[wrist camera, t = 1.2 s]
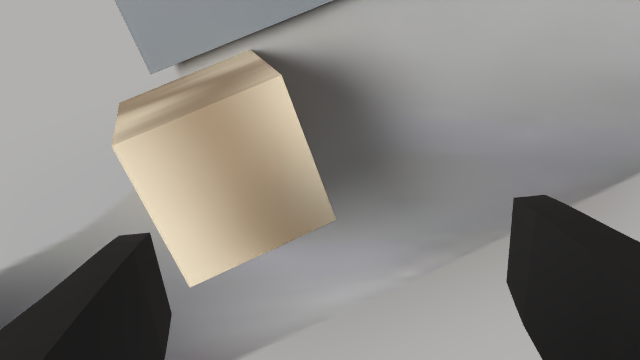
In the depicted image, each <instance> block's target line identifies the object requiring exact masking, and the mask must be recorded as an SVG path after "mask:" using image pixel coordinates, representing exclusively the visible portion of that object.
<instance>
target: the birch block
mask: <svg viewBox="0 0 640 360" xmlns="http://www.w3.org/2000/svg"><path fill="white" fill-rule="evenodd" d="M112 148H113V150H114V151H115V153H116V155H117V157H118V159H119V160H120V162H121V164H122V166H123V168H124V170H125V171H126V173H127V175H128V177H129V178H130V180H131V182H132V184H133V186H134V188H135V189H136V191H137V193H138V195H139V197H140V199H141V200H142V202H143V204H144V206H145V208H146V209H147V211H148V213H149V215H150V217H151V218H152V220H153V222H154V224H155V226H156V227H157V229H158V231H159V233H160V235H161V236H162V238H163V240H164V242H165V244H166V246H167V247H168V249H169V251H170V253H171V255H172V256H173V258H174V260H175V262H176V264H177V265H178V267H179V269H180V271H181V273H182V274H183V276H184V278H185V280H186V282H187V284H188V285H189V287H192V286H195V285H197V284H199V283H201V282H203V281H205V280H208V279H210V278H212V277H214V276H216V275H218V274H221V273H223V272H225V271H227V270H229V269H231V268H233V267H236V266H238V265H240V264H242V263H244V262H246V261H249V260H251V259H253V258H255V257H257V256H259V255H262V254H264V253H266V252H268V251H270V250H272V249H275V248H277V247H279V246H281V245H283V244H285V243H288V242H290V241H292V240H294V239H296V238H298V237H301V236H303V235H305V234H307V233H309V232H311V231H314V230H316V229H318V228H320V227H322V226H324V225H327V224H329V223H331V222H333V221H335V220H336V218H335V215H334V213H333V210H332V207H331V205H330V202H329V200H328V197H327V194H326V192H325V189H324V186H323V184H322V181H321V178H320V176H319V173H318V170H317V168H316V165H315V162H314V160H313V157H312V154H311V152H310V149H309V146H308V144H307V141H306V139H305V136H304V133H303V131H302V128H301V125H300V123H299V120H298V117H297V115H296V112H295V109H294V107H293V104H292V101H291V99H290V96H289V93H288V91H287V88H286V86H285V83H284V80H283V78H282V75H281V74H280V73H279V72H277V71H276V70H275V69H274V68H272V67H271V66H270V65H269V64H267V63H266V62H265V61H264V60H262V59H261V58H260V57H259V56H258V55H256V54H255V53H254V52H253V51H251V50H248V51H246V52H243V53H241V54H238V55H236V56H234V57H231V58H229V59H226V60H224V61H221V62H219V63H216V64H214V65H212V66H209V67H207V68H204V69H202V70H199V71H197V72H195V73H192V74H190V75H187V76H185V77H182V78H179V79H176V80H174V81H171V82H169V83H167V84H164V85H162V86H160V87H157V88H154V89H152V90H150V91H147V92H145V93H142V94H140V95H137V96H135V97H132V98H130V99H128V100H125V101H123V102H120V103H119V108H118V114H117V119H116V125H115V130H114V136H113V142H112Z"/></svg>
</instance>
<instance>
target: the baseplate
mask: <svg viewBox="0 0 640 360" xmlns="http://www.w3.org/2000/svg"><path fill="white" fill-rule="evenodd" d="M330 1H333V0H115V2H116V4H117V6H118V8H119V10H120V12H121V14H122V16H123V18H124V20H125V23H126V25H127V27H128V29H129V31H130V33H131V35H132V37H133V39H134V41H135V43H136V45H137V47H138V49H139V51H140V53H141V55H142V57H143V60H144V62H145V64H146V66H147V68H148V70H149V72H150V74H153V73H155V72H158V71H160V70H163V69H165V68H168V67H170V66H173V65H175V64H177V63H180V62H182V61H185V60H187V59H190V58H192V57H195V56H197V55H200V54H202V53H205V52H207V51H210V50H212V49H214V48H217V47H219V46H222V45H224V44H227V43H229V42H232V41H234V40H237V39H239V38H242V37H244V36H247V35H249V34H251V33H254V32H256V31H259V30H261V29H264V28H266V27H269V26H271V25H274V24H276V23H279V22H281V21H284V20H286V19H288V18H291V17H293V16H296V15H298V14H301V13H303V12H306V11H308V10H311V9H313V8H316V7H318V6H321V5H323V4H325V3H328V2H330Z"/></svg>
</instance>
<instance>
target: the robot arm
mask: <svg viewBox="0 0 640 360" xmlns="http://www.w3.org/2000/svg"><path fill="white" fill-rule="evenodd" d="M507 284H508V287H509V289H510V292H511V295H512V297H513V300H514V303H515V306H516V308H517V310H518V313H519V315H520V318H521V320H522V322H523V325H524V327H525V329H526V331H527V332H528V334H529V336H530V338H531V340H532V342H533V343H534V345H535V347H536V349H537V351H538V352H539V354H540V356H541V358H542V359H543V360H640V242H638V241H636V240H634V239H632V238H630V237H628V236H626V235H624V234H622V233H620V232H618V231H616V230H614V229H612V228H610V227H609V226H607V225H605V224H603V223H601V222H599V221H597V220H595V219H593V218H591V217H589V216H588V215H586V214H584V213H582V212H580V211H578V210H576V209H574V208H572V207H570V206H568V205H566V204H564V203H562V202H560V201H558V200H556V199H553V198H551V197H549V196H546V195H539V196H529V197H518V198H514V201H513V213H512V224H511V236H510V248H509V259H508V271H507ZM170 321H171V310H170V306H169V302H168V299H167V295H166V291H165V287H164V284H163V280H162V276H161V272H160V269H159V265H158V261H157V257H156V254H155V250H154V246H153V242H152V239H151V235H150V233H142V234H132V235H122V236H118V237H117V238H115V239H114V240H112V241H111V242H110V243H108V244H107V245H106V246H105V247H103V248H102V249H101V250H100V251H98V252H97V253H96V254H95V255H94V256H92V257H91V258H90V259H89V260H88V261H86V262H85V263H84V264H83V265H82V266H81V267H79V268H78V269H77V270H76V271H75V272H73V273H72V274H71V275H70V276H68V277H67V278H66V279H65V280H64V281H62V282H61V283H60V284H59V285H58V286H56V287H55V288H54V289H53V290H52V291H50V292H49V293H48V294H47V295H45V296H44V297H43V298H42V299H40V300H39V301H38V302H36V303H35V304H34V305H32V306H31V307H30V308H29V309H27V310H26V311H25V312H23V313H22V314H21V315H19V316H18V317H17V318H15V319H14V320H13V321H12V322H10V323H9V324H8V325H6V326H5V327H4V328H2V329H1V330H0V360H164V358H165V353H166V347H167V341H168V335H169V328H170Z"/></svg>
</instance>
